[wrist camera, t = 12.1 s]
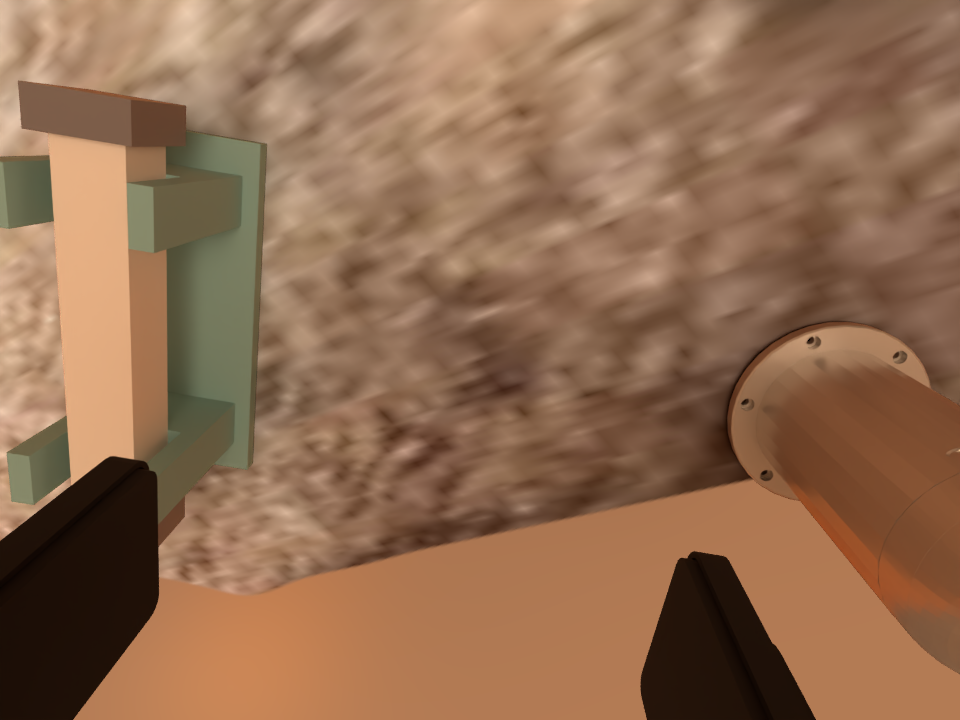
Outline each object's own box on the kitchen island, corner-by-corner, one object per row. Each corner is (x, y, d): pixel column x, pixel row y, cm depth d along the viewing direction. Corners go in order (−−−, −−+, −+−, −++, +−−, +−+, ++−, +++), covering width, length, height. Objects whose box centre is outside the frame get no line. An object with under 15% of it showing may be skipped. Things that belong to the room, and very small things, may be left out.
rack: (267, 143, 38) (175, 144, 28) (252, 463, 45) (175, 558, 35) (102, 116, 38) (-52, 106, 27) (114, 440, 45) (-4, 529, 35)
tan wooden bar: (185, 105, 32) (130, 99, 28) (184, 516, 41) (142, 565, 36) (89, 89, 32) (18, 80, 28) (108, 504, 41) (55, 551, 36)
